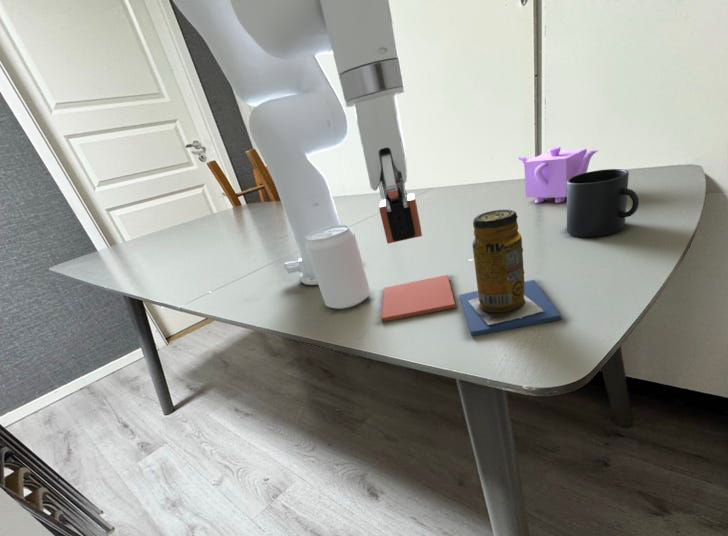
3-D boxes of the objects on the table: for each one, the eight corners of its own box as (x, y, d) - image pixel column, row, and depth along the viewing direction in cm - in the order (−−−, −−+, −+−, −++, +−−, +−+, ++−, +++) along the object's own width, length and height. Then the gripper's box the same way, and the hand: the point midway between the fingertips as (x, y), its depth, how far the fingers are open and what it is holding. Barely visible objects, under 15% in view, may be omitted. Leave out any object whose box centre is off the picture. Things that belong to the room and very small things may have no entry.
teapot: (526, 210, 92) (523, 159, 87) (518, 198, 104) (516, 152, 98) (597, 197, 89) (599, 143, 84) (582, 186, 100) (583, 137, 95)
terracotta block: (387, 243, 57) (378, 207, 54) (388, 234, 61) (380, 200, 59) (422, 236, 56) (415, 199, 54) (420, 227, 61) (414, 192, 58)
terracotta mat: (382, 321, 60) (381, 318, 59) (385, 290, 70) (384, 287, 70) (455, 307, 58) (455, 303, 58) (448, 278, 69) (447, 274, 68)
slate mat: (471, 336, 51) (470, 332, 50) (460, 298, 61) (459, 294, 61) (560, 319, 49) (560, 315, 49) (534, 283, 60) (533, 279, 59)
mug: (619, 242, 66) (623, 183, 61) (556, 235, 75) (555, 184, 70) (650, 223, 69) (657, 167, 65) (586, 219, 78) (588, 169, 74)
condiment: (516, 289, 58) (510, 203, 52) (543, 312, 51) (540, 215, 44) (468, 302, 58) (456, 217, 52) (488, 327, 50) (477, 232, 44)
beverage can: (352, 312, 65) (330, 239, 59) (316, 309, 69) (292, 241, 63) (380, 291, 70) (362, 222, 64) (345, 289, 75) (325, 224, 69)
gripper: (351, 96, 57) (382, 225, 66) (333, 91, 43) (376, 256, 52) (402, 82, 56) (427, 214, 65) (402, 72, 42) (433, 244, 51)
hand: (404, 231), depth 59 cm, fingers closed on terracotta block, 5 cm apart
